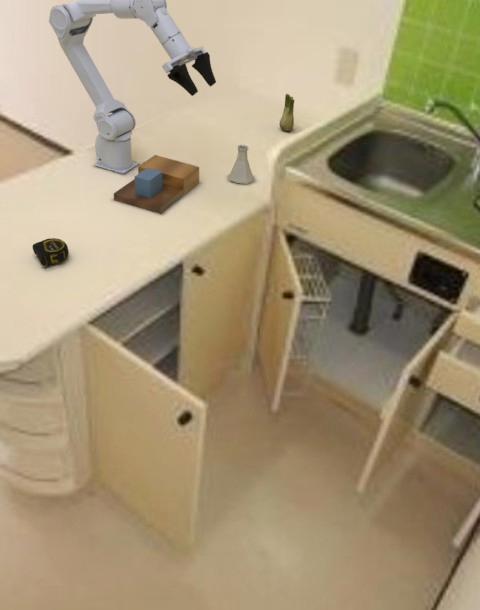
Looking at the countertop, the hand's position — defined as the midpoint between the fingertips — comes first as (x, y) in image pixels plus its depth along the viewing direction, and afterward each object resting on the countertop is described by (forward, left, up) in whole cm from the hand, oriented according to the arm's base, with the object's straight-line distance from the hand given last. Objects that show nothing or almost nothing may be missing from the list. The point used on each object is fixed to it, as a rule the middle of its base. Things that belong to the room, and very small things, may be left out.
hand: (204, 89), depth 161 cm
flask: (+5, +14, -29) cm, 33 cm away
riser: (-11, -5, -29) cm, 31 cm away
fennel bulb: (-29, +46, -25) cm, 60 cm away
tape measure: (-14, -47, -29) cm, 57 cm away
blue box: (-11, -10, -27) cm, 31 cm away
